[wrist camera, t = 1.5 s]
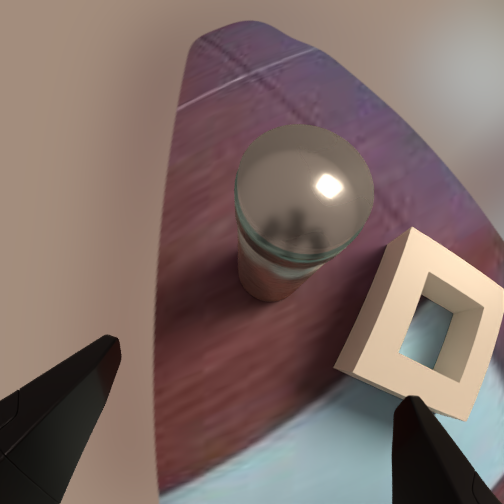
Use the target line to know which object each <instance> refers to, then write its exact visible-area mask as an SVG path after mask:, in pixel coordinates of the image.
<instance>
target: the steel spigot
mask: <svg viewBox="0 0 504 504" xmlns="http://www.w3.org/2000/svg"><path fill="white" fill-rule="evenodd" d="M234 194H235V217H236V221H237V225H238V275H239V279H240V282H241V284H242V286H243V287H244V289H245V290H246V291H247V292H248V293H249V294H250V295H251V296H253V297H255V298H257V299H259V300H262V301H267V302H274V301H279V300H282V299H285V298H286V297H288V296H289V295H291V294H292V293H293V292H294V291H295V290H296V289H297V288H299V287H300V286H301V285H302V284H303V283H304V282H305V281H306V280H307V279H308V278H309V277H310V276H312V275H313V274H314V273H315V272H316V271H317V270H318V269H319V268H320V267H321V266H322V265H323V264H324V263H326V262H328V261H330V260H331V259H333V258H334V257H335V256H337V255H338V254H339V253H340V252H341V251H342V250H343V249H344V248H346V247H347V246H348V245H349V244H350V243H351V242H352V241H353V240H354V239H355V238H356V237H357V236H358V234H359V233H360V231H361V230H362V228H363V226H364V224H365V222H366V221H367V219H368V217H369V215H370V213H371V209H372V206H373V201H374V186H373V180H372V177H371V173H370V171H369V169H368V166H367V165H366V163H365V161H364V159H363V158H362V157H361V155H360V154H359V153H358V151H357V150H356V149H355V148H354V147H353V146H352V145H351V144H349V143H348V142H347V141H346V140H344V139H343V138H342V137H340V136H338V135H337V134H335V133H333V132H331V131H328V130H326V129H323V128H320V127H316V126H311V125H303V124H293V125H285V126H281V127H277V128H274V129H272V130H269V131H268V132H266V133H264V134H262V135H261V136H259V137H258V138H257V139H256V140H255V141H253V142H252V143H251V145H250V146H249V147H248V148H247V150H246V151H245V153H244V155H243V157H242V159H241V162H240V165H239V169H238V172H237V174H236V179H235V188H234Z"/></svg>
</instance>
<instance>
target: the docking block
mask: <svg viewBox="0 0 504 504" xmlns="http://www.w3.org/2000/svg"><path fill="white" fill-rule="evenodd" d="M421 295H423V296H425V297H427V298H428V299H430V300H432V301H433V302H435V303H437V304H438V305H440V306H442V307H443V308H445V309H447V310H448V311H450V312H452V313H453V317H452V320H451V323H450V326H449V329H448V332H447V335H446V337H445V340H444V343H443V346H442V348H441V351H440V354H439V356H438V359H437V361H436V364H435V366H434V369H433V370H432V369H430V368H428V367H426V366H424V365H422V364H420V363H418V362H416V361H414V360H412V359H410V358H408V357H406V356H404V355H402V354H400V353H398V352H399V350H400V347H401V345H402V343H403V340H404V338H405V335H406V333H407V330H408V328H409V325H410V323H411V320H412V318H413V315H414V312H415V310H416V307H417V304H418V301H419V298H420V296H421ZM503 313H504V289H503V288H502V287H500V286H499V285H498V284H496V283H495V282H494V281H492V280H491V279H490V278H488V277H487V276H485V275H484V274H483V273H481V272H480V271H478V270H477V269H475V268H474V267H473V266H471V265H470V264H468V263H467V262H465V261H464V260H462V259H461V258H460V257H458V256H457V255H455V254H454V253H452V252H451V251H449V250H448V249H446V248H445V247H443V246H441V245H440V244H438V243H437V242H435V241H434V240H432V239H431V238H429V237H427V236H426V235H424V234H423V233H421V232H420V231H418V230H416V229H415V228H413V227H411V228H409V229H408V230H407V231H405V232H404V233H402V234H401V235H400V236H398V237H397V238H396V239H394V240H393V241H391V242H390V243H389V244H387V247H386V249H385V252H384V255H383V257H382V260H381V262H380V265H379V267H378V270H377V272H376V275H375V277H374V280H373V282H372V285H371V287H370V289H369V292H368V294H367V296H366V299H365V301H364V303H363V306H362V308H361V310H360V312H359V315H358V317H357V319H356V321H355V323H354V326H353V328H352V330H351V332H350V334H349V336H348V338H347V341H346V343H345V345H344V347H343V349H342V351H341V353H340V355H339V357H338V359H337V361H336V363H335V365H334V367H333V368H335V369H337V370H339V371H341V372H343V373H346V374H348V375H350V376H352V377H354V378H356V379H358V380H361V381H363V382H365V383H367V384H369V385H372V386H374V387H376V388H378V389H380V390H383V391H385V392H387V393H389V394H392V395H394V396H396V397H399V398H401V399H403V400H404V398H405V397H406V396H408V395H416V396H419V397H420V398H421V399H422V400H423V401H424V403H425V404H426V405H427V406H428V408H429V409H430V410H431V411H432V412H434V413H437V414H440V415H444V416H447V417H451V418H454V419H458V420H462V421H467V419H468V417H469V414H470V412H471V410H472V407H473V405H474V403H475V400H476V398H477V395H478V393H479V390H480V387H481V385H482V382H483V379H484V376H485V374H486V371H487V368H488V365H489V362H490V359H491V356H492V353H493V349H494V346H495V343H496V339H497V336H498V332H499V328H500V325H501V321H502V317H503Z"/></svg>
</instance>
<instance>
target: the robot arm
mask: <svg viewBox="0 0 504 504" xmlns="http://www.w3.org/2000/svg"><path fill="white" fill-rule="evenodd" d="M120 362H121V350H120V342H119V339H118V338H117V337H113V336H111V335H104V336H102V337H101V338H99V339H97V340H96V341H94V342H93V343H91V344H90V345H88V346H86V347H85V348H83V349H82V350H80V351H78V352H77V353H75V354H74V355H72V356H70V357H69V358H67V359H66V360H64V361H62V362H61V363H59V364H58V365H56V366H55V367H53V368H51V369H50V370H49V371H47V372H45V373H44V374H42V375H40V376H39V377H37V378H36V379H34V380H33V381H31V382H30V383H28V384H26V385H25V386H23V387H22V388H20V390H17V391H15V392H14V393H12V394H10V395H9V396H7V397H5V398H4V399H2V400H1V401H0V504H60V503H61V500H62V498H63V495H64V493H65V491H66V488H67V486H68V484H69V482H70V479H71V477H72V475H73V472H74V470H75V468H76V466H77V463H78V461H79V459H80V457H81V455H82V452H83V450H84V448H85V446H86V444H87V442H88V439H89V437H90V435H91V433H92V431H93V429H94V427H95V425H96V423H97V420H98V418H99V416H100V414H101V412H102V410H103V408H104V406H105V404H106V401H107V398H108V396H109V393H110V390H111V387H112V384H113V382H114V379H115V376H116V373H117V370H118V368H119V365H120ZM392 504H502V503H501V502H500V501H499V500H498V499H497V498H496V496H495V495H494V494H493V493H492V492H491V490H490V489H489V488H488V487H487V485H486V484H485V483H484V481H483V480H482V479H481V477H480V476H479V475H478V473H477V472H476V471H475V469H474V468H473V466H472V465H471V464H470V462H469V461H468V460H467V458H466V457H465V455H464V454H463V453H462V451H461V450H460V449H459V447H458V446H457V445H456V443H455V442H454V441H453V439H452V438H451V437H450V435H449V434H448V433H447V431H446V430H445V429H444V427H443V426H442V425H441V423H440V422H439V421H438V419H437V418H436V417H435V416H434V414H433V413H432V412H431V410H430V409H429V408H428V406H427V405H426V404H425V403H424V401H423V400H422V399H421V398H420V397H419V396H416V395H408V396H406V397H405V398H404V400H403V401H402V402H401V403H400V404H399V406H398V407H397V408H396V410H395V412H394V419H393V440H392Z"/></svg>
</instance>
